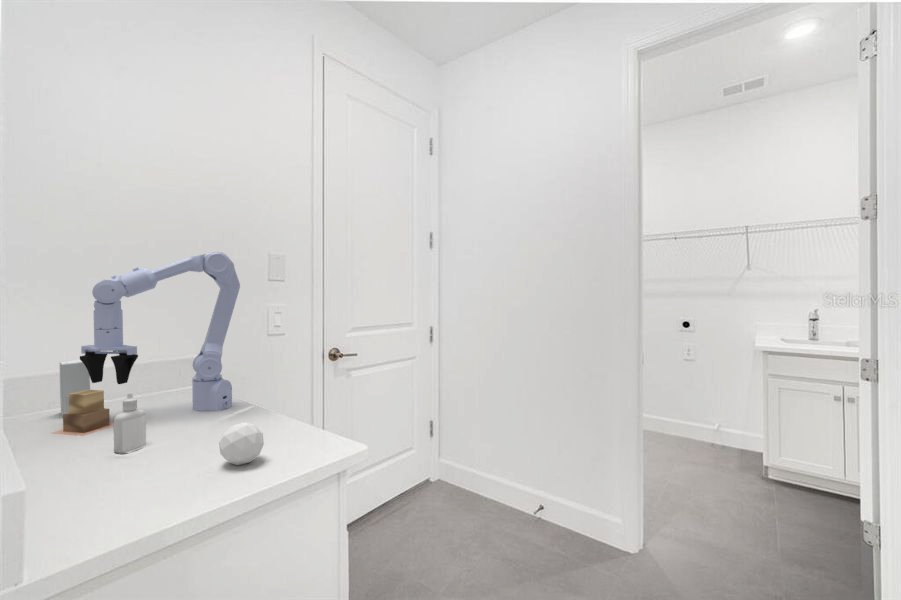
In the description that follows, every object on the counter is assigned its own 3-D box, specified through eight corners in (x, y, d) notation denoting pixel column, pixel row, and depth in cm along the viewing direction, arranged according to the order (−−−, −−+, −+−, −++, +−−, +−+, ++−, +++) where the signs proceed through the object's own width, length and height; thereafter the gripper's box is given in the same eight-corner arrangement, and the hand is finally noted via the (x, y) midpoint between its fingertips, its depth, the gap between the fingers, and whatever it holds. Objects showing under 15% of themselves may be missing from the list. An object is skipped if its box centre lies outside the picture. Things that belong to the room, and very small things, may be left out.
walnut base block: (109, 425, 106) (109, 408, 106) (84, 433, 100) (84, 415, 100) (89, 423, 107) (89, 407, 107) (63, 431, 101) (62, 414, 101)
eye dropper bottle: (148, 449, 92) (148, 392, 92) (115, 456, 88) (114, 397, 88) (144, 444, 95) (143, 389, 95) (112, 451, 91) (111, 393, 91)
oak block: (103, 409, 105) (103, 390, 105) (85, 414, 101) (84, 394, 101) (88, 408, 106) (88, 389, 106) (69, 413, 102) (68, 394, 102)
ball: (242, 480, 84) (228, 457, 79) (219, 457, 87) (204, 434, 83) (276, 452, 88) (265, 428, 83) (253, 431, 92) (241, 407, 87)
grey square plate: (165, 419, 114) (165, 416, 114) (103, 441, 97) (103, 437, 97) (114, 416, 117) (114, 413, 117) (45, 436, 101) (45, 432, 101)
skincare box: (91, 417, 116) (91, 361, 116) (61, 422, 112) (60, 363, 111) (88, 411, 122) (88, 357, 122) (59, 415, 118) (58, 360, 117)
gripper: (68, 329, 107) (69, 385, 107) (118, 330, 104) (119, 387, 105) (96, 327, 114) (97, 379, 114) (144, 327, 111) (145, 381, 112)
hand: (109, 382), depth 110 cm, fingers open, 7 cm apart
